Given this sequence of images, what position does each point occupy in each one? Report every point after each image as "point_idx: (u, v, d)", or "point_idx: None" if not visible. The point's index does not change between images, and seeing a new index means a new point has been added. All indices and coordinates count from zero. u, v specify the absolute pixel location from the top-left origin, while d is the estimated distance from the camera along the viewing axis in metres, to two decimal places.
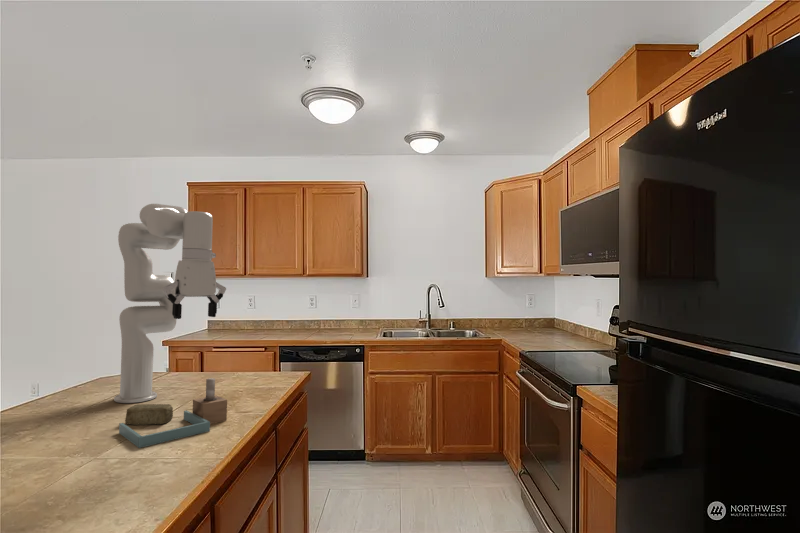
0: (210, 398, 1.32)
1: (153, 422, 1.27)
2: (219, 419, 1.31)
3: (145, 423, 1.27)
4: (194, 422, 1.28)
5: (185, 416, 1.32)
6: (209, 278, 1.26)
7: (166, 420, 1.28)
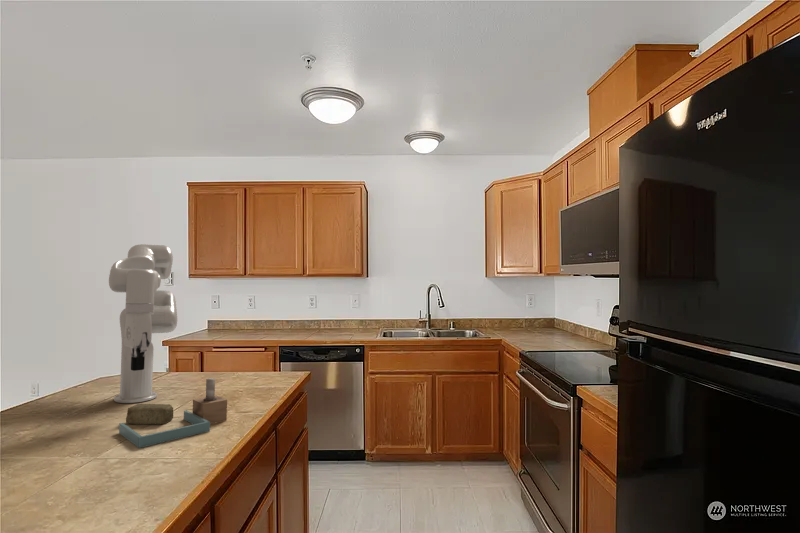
0: (210, 398, 1.32)
1: (152, 422, 1.27)
2: (219, 419, 1.31)
3: (145, 423, 1.27)
4: (194, 422, 1.28)
5: (185, 416, 1.32)
6: None
7: (165, 420, 1.28)
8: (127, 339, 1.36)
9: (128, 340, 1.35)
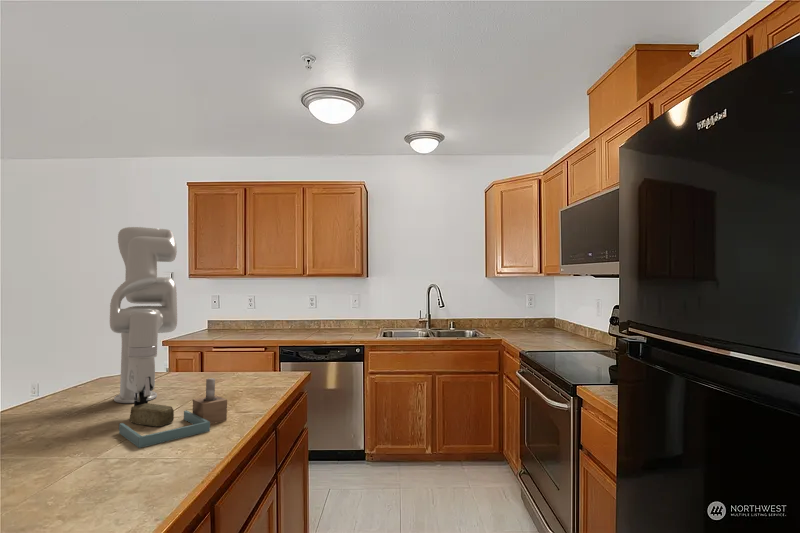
0: (210, 398, 1.32)
1: (149, 423, 1.26)
2: (219, 419, 1.31)
3: (143, 423, 1.26)
4: (194, 422, 1.28)
5: (185, 416, 1.32)
6: None
7: (161, 423, 1.26)
8: (130, 383, 1.33)
9: (131, 384, 1.32)
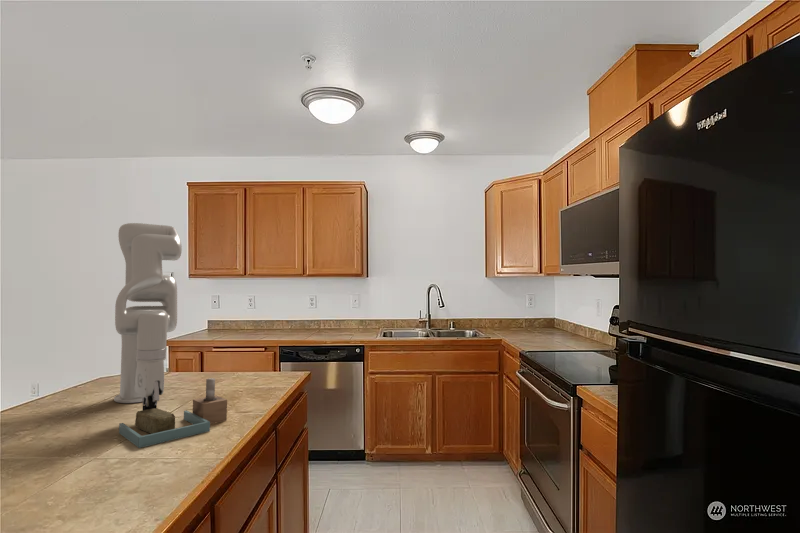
0: (210, 398, 1.32)
1: (149, 431, 1.20)
2: (219, 419, 1.31)
3: (145, 430, 1.21)
4: (194, 422, 1.28)
5: (185, 416, 1.32)
6: None
7: (159, 431, 1.19)
8: (138, 387, 1.28)
9: (139, 388, 1.28)
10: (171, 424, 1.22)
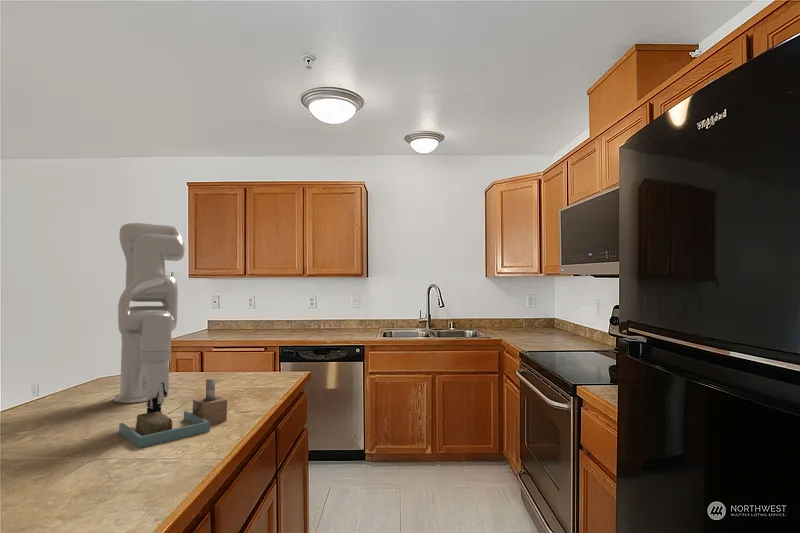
0: (210, 398, 1.32)
1: None
2: (219, 419, 1.31)
3: (142, 434, 1.18)
4: (194, 422, 1.28)
5: (185, 416, 1.32)
6: None
7: None
8: (143, 389, 1.26)
9: (144, 390, 1.25)
10: (167, 429, 1.18)
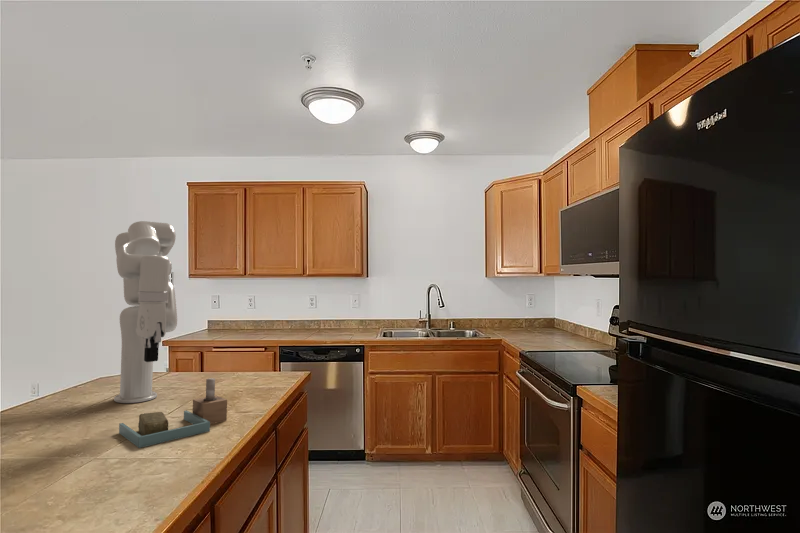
0: (210, 398, 1.32)
1: None
2: (219, 419, 1.31)
3: (141, 434, 1.18)
4: (194, 422, 1.28)
5: (185, 416, 1.32)
6: None
7: None
8: (140, 329, 1.29)
9: (141, 330, 1.28)
10: None
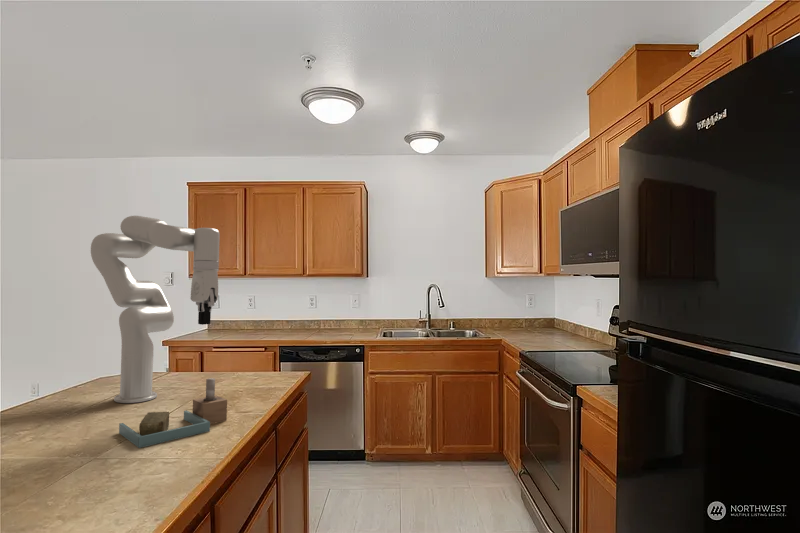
0: (210, 398, 1.32)
1: None
2: (219, 419, 1.31)
3: None
4: (194, 422, 1.28)
5: (185, 416, 1.32)
6: None
7: None
8: (195, 294, 1.42)
9: (196, 295, 1.42)
10: (157, 432, 1.15)
